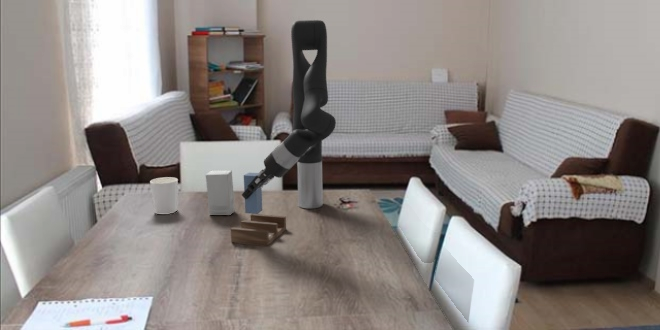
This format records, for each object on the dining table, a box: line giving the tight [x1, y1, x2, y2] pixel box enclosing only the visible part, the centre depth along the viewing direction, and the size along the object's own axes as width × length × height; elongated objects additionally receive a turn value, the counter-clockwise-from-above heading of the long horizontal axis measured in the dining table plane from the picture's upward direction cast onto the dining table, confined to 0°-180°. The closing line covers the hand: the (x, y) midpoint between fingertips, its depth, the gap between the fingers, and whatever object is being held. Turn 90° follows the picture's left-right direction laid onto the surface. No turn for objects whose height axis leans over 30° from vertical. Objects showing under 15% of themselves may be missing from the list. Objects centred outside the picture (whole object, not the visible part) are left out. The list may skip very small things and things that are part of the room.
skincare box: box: [205, 170, 236, 216], centre depth 212 cm, size 8×7×16 cm
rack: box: [230, 213, 287, 247], centre depth 189 cm, size 16×12×4 cm
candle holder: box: [149, 176, 179, 213], centre depth 216 cm, size 10×10×12 cm
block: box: [243, 172, 263, 215], centre depth 183 cm, size 4×4×12 cm
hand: (247, 195), depth 183 cm, fingers closed on block, 4 cm apart
